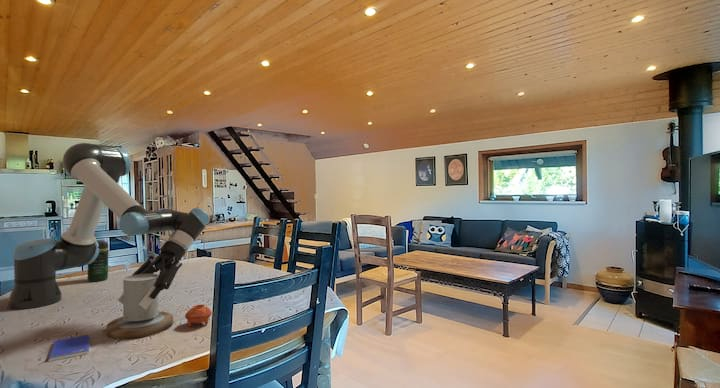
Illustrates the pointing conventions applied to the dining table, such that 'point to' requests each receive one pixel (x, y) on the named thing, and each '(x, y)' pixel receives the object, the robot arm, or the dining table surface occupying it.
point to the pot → (198, 314)
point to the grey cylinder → (138, 297)
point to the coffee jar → (99, 264)
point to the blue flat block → (70, 347)
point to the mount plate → (139, 327)
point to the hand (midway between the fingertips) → (131, 304)
